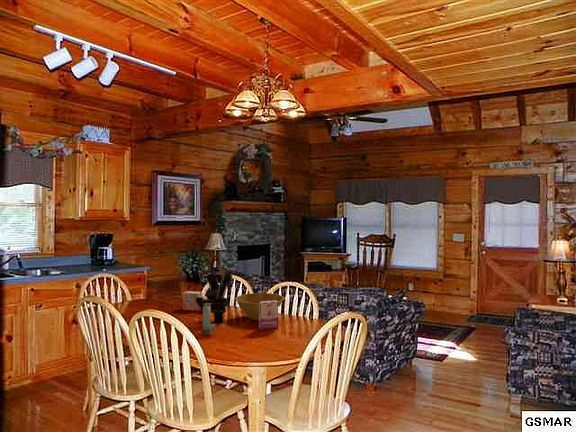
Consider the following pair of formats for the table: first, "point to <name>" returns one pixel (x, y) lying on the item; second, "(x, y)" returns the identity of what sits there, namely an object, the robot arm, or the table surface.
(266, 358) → the table surface
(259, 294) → the planter bowl
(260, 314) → the candy bar box
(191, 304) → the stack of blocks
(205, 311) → the rod
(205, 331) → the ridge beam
